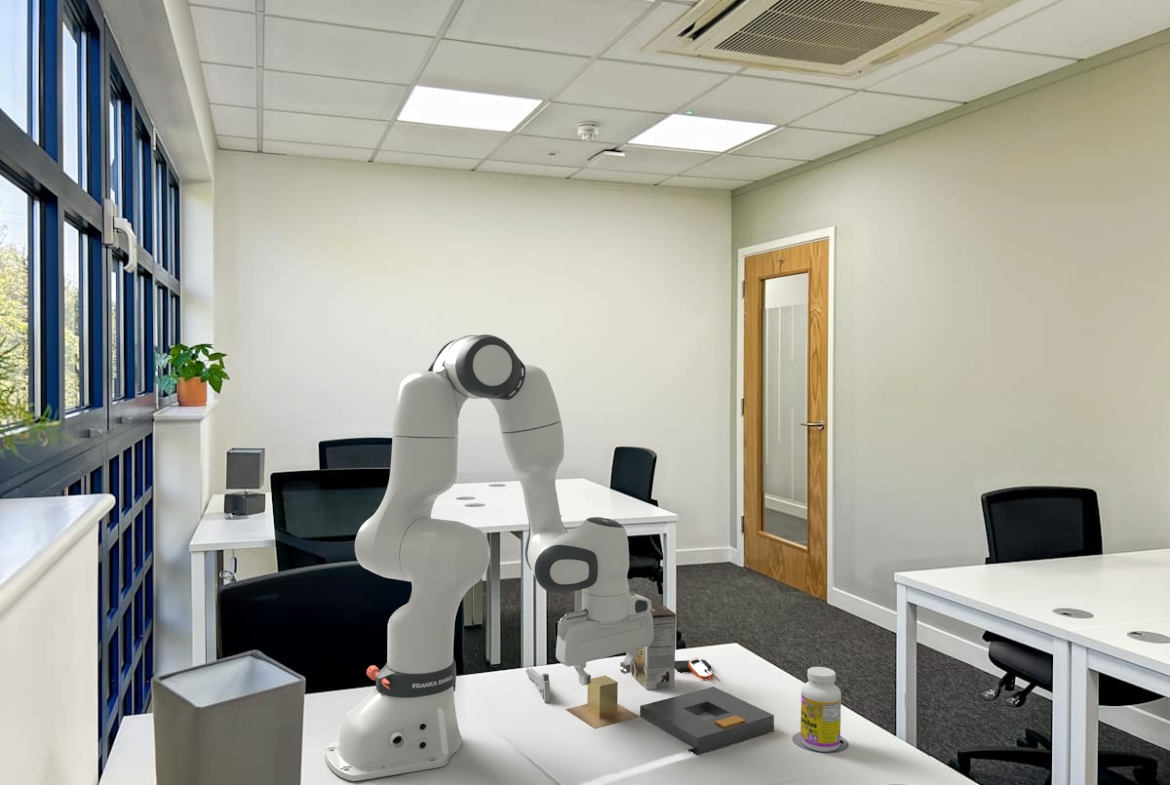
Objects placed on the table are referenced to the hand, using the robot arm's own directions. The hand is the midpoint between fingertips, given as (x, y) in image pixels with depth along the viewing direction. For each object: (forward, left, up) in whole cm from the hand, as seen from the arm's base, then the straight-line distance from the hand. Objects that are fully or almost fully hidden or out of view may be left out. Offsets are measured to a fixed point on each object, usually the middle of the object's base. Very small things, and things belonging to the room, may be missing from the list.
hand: (605, 678), depth 153 cm
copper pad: (-1, 0, -7) cm, 7 cm away
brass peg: (-1, 0, -6) cm, 6 cm away
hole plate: (+13, -13, -7) cm, 20 cm away
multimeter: (+30, +5, -8) cm, 31 cm away
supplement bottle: (+25, -29, -8) cm, 39 cm away
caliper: (-4, +19, -8) cm, 21 cm away
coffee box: (+17, +8, -8) cm, 20 cm away
